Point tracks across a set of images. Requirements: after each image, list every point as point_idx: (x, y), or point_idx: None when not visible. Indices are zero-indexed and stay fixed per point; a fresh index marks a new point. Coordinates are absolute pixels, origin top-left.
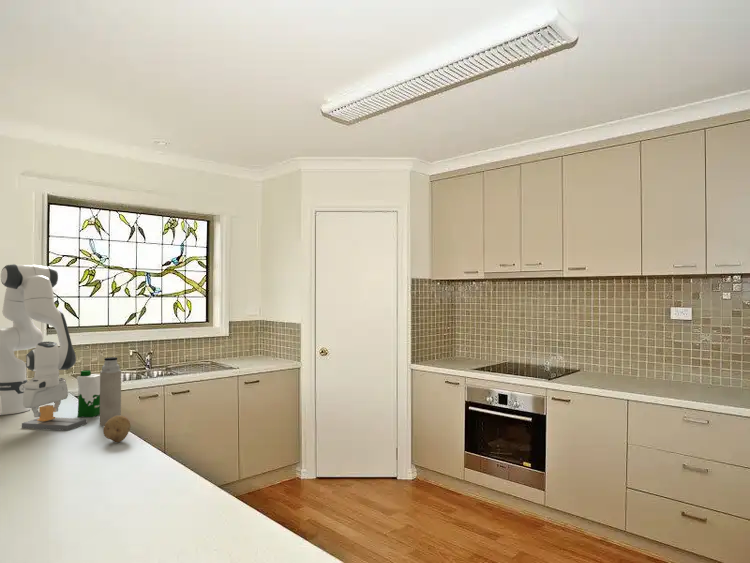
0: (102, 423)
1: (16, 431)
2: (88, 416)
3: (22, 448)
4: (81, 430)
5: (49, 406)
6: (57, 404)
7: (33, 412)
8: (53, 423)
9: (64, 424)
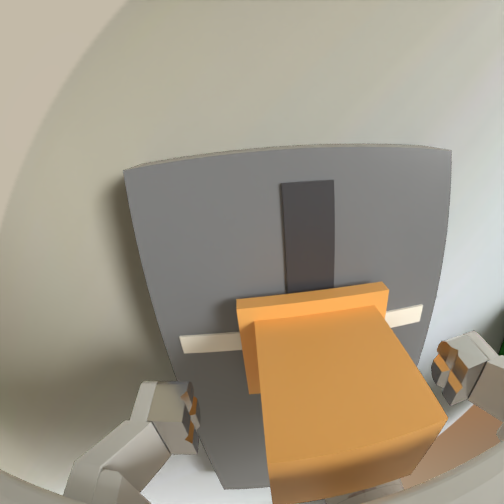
0: (327, 502)
1: (56, 233)
2: (502, 351)
3: (15, 442)
4: (249, 490)
5: (343, 492)
6: (501, 406)
7: (118, 427)
8: (235, 436)
9: (238, 477)
